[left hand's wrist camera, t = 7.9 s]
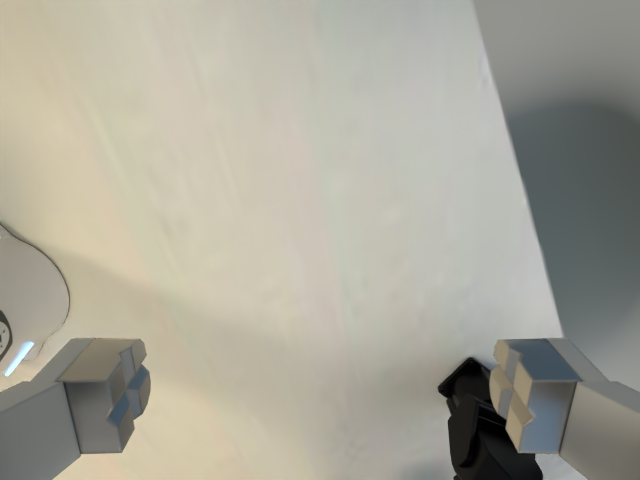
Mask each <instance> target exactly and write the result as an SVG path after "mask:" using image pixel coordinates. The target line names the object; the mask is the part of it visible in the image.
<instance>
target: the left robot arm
mask: <svg viewBox="0 0 640 480" xmlns="http://www.w3.org/2000/svg"><path fill="white" fill-rule="evenodd" d="M68 309H69V295H68V290H67V287H66V284H65V282H64V279H63V277H62V276H61V274H60V272H59V271H58V269H57V268H56V267H55V265H54V264H53V263H52V262H51V261H50V260H49V259H48V258H47V257H46V256H45V255H44V254H42V253H41V252H40V251H38V250H37V249H35V248H34V247H32V246H30V245H28V244H26V243H24V242H22V241H20V240H18V239H16V238H15V237H13V236H12V235H10V234H9V233H8V232H7V231H6V230H5V229H4V228H3V227H2V226H1V225H0V376H1V375H2V374H3V373H5V372H6V371H7V370H8V372H7V373H6V374H5V375H6V376H8V375H9V374H10V373H11V372H12V371H13V370H14V369H15V367H16V366H17V365H18V363H19V362H20V361H21V360H31V359H32V358H34V357H35V356H36V355H37V354H38V353H39V352H40V350H41V348H42V345H43V343H44V341H45V340H46V339H47V338H48V337H49V336H51V335H52V334H53V333H55V332H56V331H57V330H58V329H59V328H60V327H61V325H62V324H63V322H64V321H65V319H66V316H67V313H68ZM145 357H146V350H145V345H144V342H143V341H142V340H141V339H117V338H75V339H71V340H70V341H69V342H68V343H67V344H66V345H65V346H64V347H63V348H62V349H61V350H60V351H59V352H58V353H57V354H56V355H55V356H54V357H53V358H52V359H51V361H50V362H49V363H48V364H47V365H46V366H45V367H44V368H43V369H42V370H41V371H40V372H39V373H38V374H37V375H36V376H35V377H34V378H33V379H32V380H31V381H30V382H21V383H19V384H17V385H15V386H12V387H10V388H8V389H6V390H4V391H2V392H0V480H52V479H53V478H54V477H56V476H57V475H58V474H59V473H61V472H62V471H63V470H64V469H66V468H67V467H68V466H69V465H70V464H72V463H73V462H74V461H75V460H77V459H78V458H79V457H80V456H81V454H99V453H122V451H123V450H124V448H125V446H126V444H127V442H128V440H129V438H130V437H131V435H132V433H133V431H134V429H135V428H134V422H133V420H134V419H136V418H137V417H139V416H140V415H141V414H143V412H144V410H145V408H146V406H147V404H148V399H149V395H150V384H151V381H150V374H149V371H148V370H147V369H146V368H145V367H144V366H143V365H142V362H143V360H144V359H145ZM494 357H495V359H496V360H497V362H498V365H497V366H496V367H495V368H494V369H493V370H492V371H491V374H490V382H489V387H490V397H491V400H492V403H493V406H494V408H495V410H496V412H497V414H499V415H500V416H501V417H503V418H504V419H506V420H507V422H506V428H505V429H506V431H507V433H508V435H509V437H510V438H511V440H512V442H513V444H514V446H515V448H516V450H517V451H518V453H540V454H559V456H560V457H561V458H562V459H564V460H565V461H566V462H567V463H568V464H570V465H571V466H572V467H573V468H575V469H576V470H577V471H578V472H580V473H581V474H582V475H583V476H585V477H586V478H587V479H588V480H640V392H638V391H636V390H634V389H632V388H630V387H627V386H625V385H623V384H621V383H619V382H610V381H609V380H608V379H607V378H606V377H605V376H604V375H603V374H602V373H601V372H600V371H599V370H598V369H597V368H596V367H595V366H594V365H593V364H592V363H591V361H590V360H589V359H588V358H587V357H586V356H585V355H584V354H583V353H582V352H581V351H580V350H579V349H578V348H577V347H576V346H575V345H574V344H573V343H572V342H571V341H570V340H568V339H566V338H542V339H507V340H498V341H497V343H496V345H495V349H494Z"/></svg>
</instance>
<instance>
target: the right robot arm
mask: <svg viewBox="0 0 640 480" xmlns="http://www.w3.org/2000/svg"><path fill="white" fill-rule="evenodd" d="M471 361H473V362H471ZM470 362H471V363H470ZM490 374H491V371H490V370H489V369H488V368H486V367H485V366H483V365H482V364H481V363H479V362H478V361H477V360H475V359H474V358H469V359H468V360H466V361H465V362H464V363H463V364H462V365H461V366H460V367H459V368H458V369H457V370H456V371H455V372H454V373H453V374H452V375H451V376H450V377H449V378H447V379H446V380H445V381H444V382H443V383H442V384H441V385H440V386H439V387H438V391H439V393H441V394H442V395H444V396H445V397H446V398H448V399H447V400H446V403H447V405H448V408H449V410H450V413H451V417H450V418H449V420H448V430H449V442H450V454H451V461H452V465H453V468H454V471H455V473H456V474H457V475H456V476H454V480H543V473H542V471H541V469H540V467H539V466H538V464H537V462H536V460H535V453H518V451H517V450H516V448H515V446H514V444H513V442H512V440H511V438H510V437H509V435H508V433H507V431H506V429H505V428H506V422H507V420H506V419H504V418H503V417H501V416H500V415H499V414H497V412H496V410H495V408H494V406H493V403H492V400H491V397H490V387H489V382H490ZM441 389H443V390H441Z"/></svg>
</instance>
